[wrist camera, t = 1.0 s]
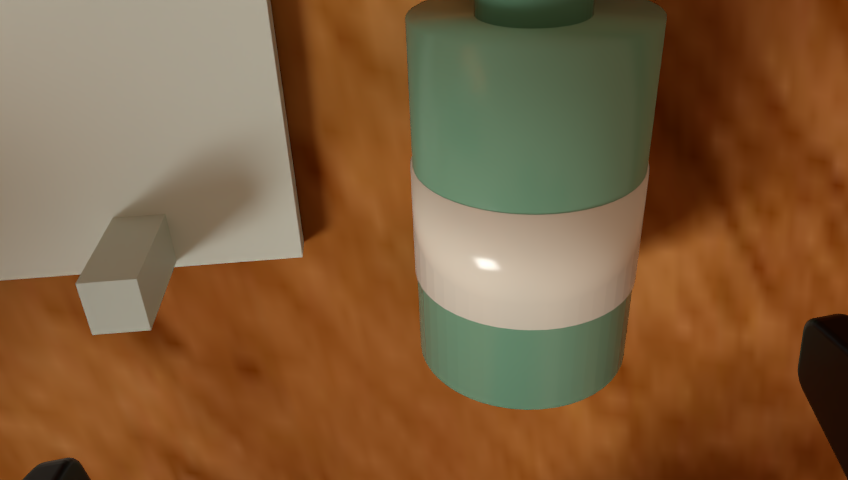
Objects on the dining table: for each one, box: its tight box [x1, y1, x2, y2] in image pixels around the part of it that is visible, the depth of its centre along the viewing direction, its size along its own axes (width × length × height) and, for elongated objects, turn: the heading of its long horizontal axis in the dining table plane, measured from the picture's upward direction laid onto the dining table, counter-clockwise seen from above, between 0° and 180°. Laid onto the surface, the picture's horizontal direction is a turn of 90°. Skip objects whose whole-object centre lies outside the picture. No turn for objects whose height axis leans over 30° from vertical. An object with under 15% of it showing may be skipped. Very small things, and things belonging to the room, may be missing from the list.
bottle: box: [405, 0, 667, 410], centre depth 17 cm, size 14×6×6 cm, turn 2°
